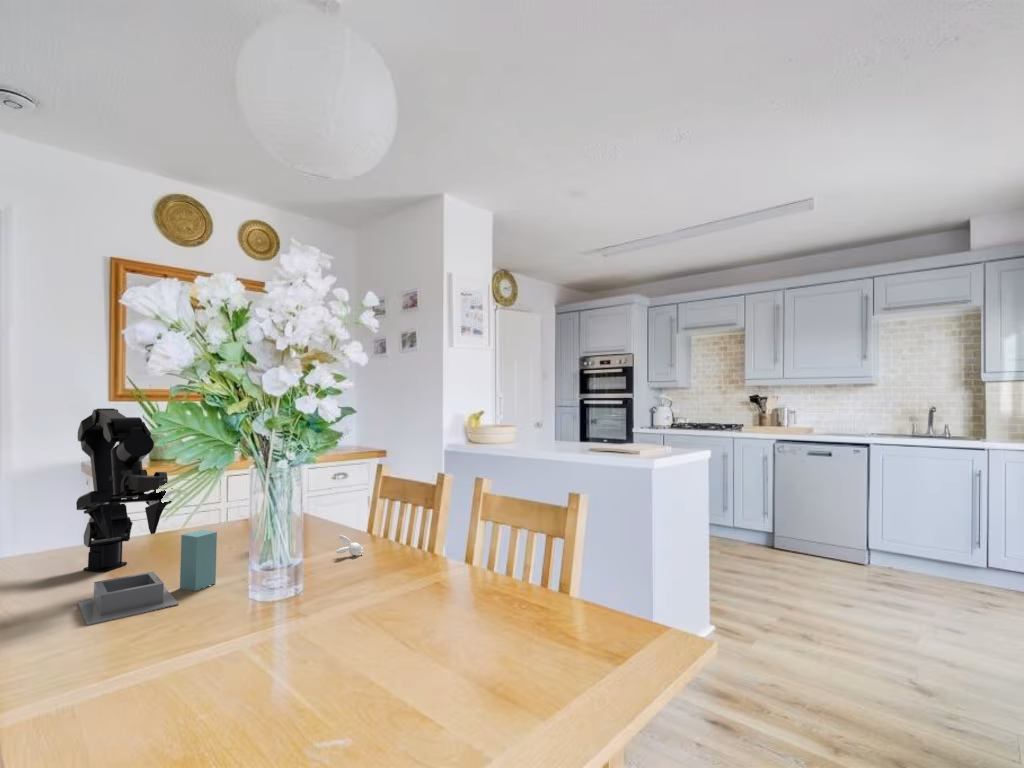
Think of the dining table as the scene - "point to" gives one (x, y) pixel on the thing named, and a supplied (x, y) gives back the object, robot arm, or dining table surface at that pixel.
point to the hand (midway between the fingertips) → (132, 536)
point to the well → (125, 598)
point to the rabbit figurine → (353, 547)
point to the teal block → (198, 559)
